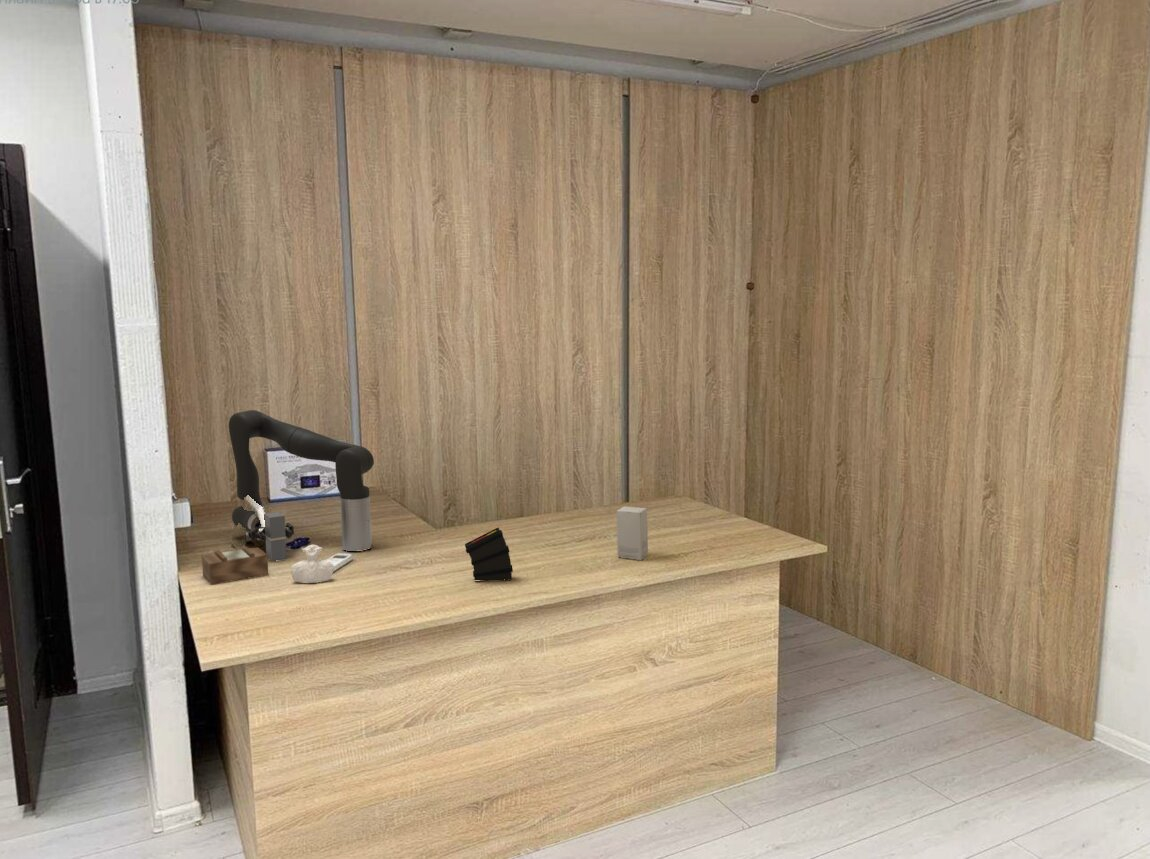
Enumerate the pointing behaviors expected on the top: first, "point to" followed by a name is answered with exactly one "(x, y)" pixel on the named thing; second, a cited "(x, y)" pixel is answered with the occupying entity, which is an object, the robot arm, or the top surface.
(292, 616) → the top surface
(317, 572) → the tied plastic bag
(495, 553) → the magazine
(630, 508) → the skincare box
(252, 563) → the stand
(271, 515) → the stacked grey cubes
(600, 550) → the top surface
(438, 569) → the top surface
